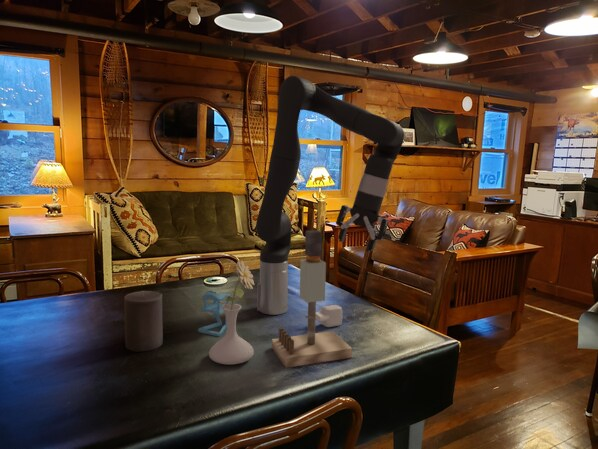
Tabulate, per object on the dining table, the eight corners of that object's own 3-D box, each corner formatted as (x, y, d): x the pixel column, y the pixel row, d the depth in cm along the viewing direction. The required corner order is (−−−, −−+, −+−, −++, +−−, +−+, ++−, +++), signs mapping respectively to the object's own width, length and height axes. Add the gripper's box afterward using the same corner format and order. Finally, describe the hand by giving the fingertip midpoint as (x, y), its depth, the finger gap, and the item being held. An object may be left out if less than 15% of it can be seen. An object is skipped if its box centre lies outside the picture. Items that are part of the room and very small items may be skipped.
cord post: (286, 367, 109) (287, 237, 104) (271, 347, 121) (272, 229, 116) (351, 357, 116) (356, 234, 111) (332, 339, 127) (335, 226, 122)
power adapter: (311, 331, 132) (311, 313, 131) (303, 326, 136) (304, 307, 135) (343, 326, 137) (344, 307, 136) (335, 320, 141) (336, 303, 140)
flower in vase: (234, 373, 106) (233, 271, 102) (199, 361, 112) (197, 264, 108) (266, 353, 117) (267, 260, 113) (233, 343, 123) (232, 254, 119)
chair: (235, 327, 135) (235, 288, 133) (219, 336, 127) (219, 296, 125) (214, 322, 138) (214, 285, 136) (197, 332, 130) (197, 292, 129)
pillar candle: (127, 354, 115) (126, 298, 113) (123, 340, 123) (121, 288, 121) (166, 348, 119) (165, 294, 117) (159, 335, 128) (158, 284, 126)
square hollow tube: (306, 302, 113) (307, 263, 111) (299, 296, 117) (300, 259, 116) (324, 300, 114) (325, 262, 113) (317, 294, 119) (318, 258, 117)
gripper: (343, 184, 125) (327, 239, 128) (391, 199, 119) (373, 256, 122) (352, 185, 131) (337, 237, 134) (398, 199, 125) (381, 253, 128)
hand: (354, 246), depth 128 cm, fingers open, 8 cm apart
